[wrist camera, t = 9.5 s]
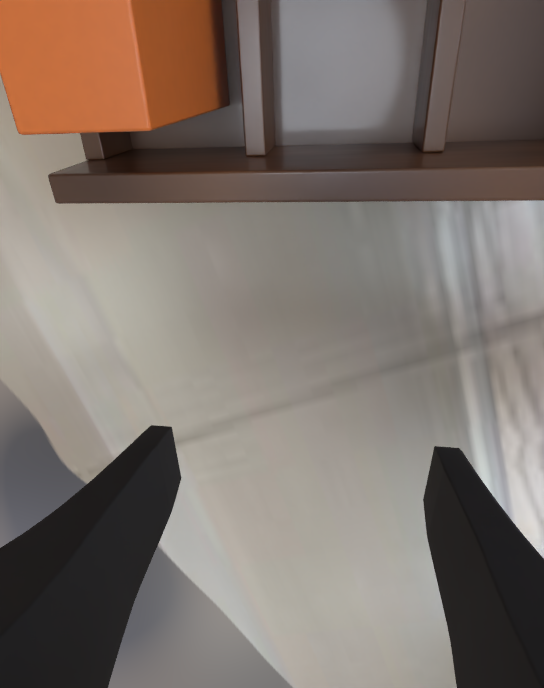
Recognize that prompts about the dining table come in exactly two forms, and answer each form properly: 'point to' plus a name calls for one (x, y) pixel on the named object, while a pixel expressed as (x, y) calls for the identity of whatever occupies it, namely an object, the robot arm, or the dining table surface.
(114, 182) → the book rack
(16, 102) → the book
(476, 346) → the dining table surface
